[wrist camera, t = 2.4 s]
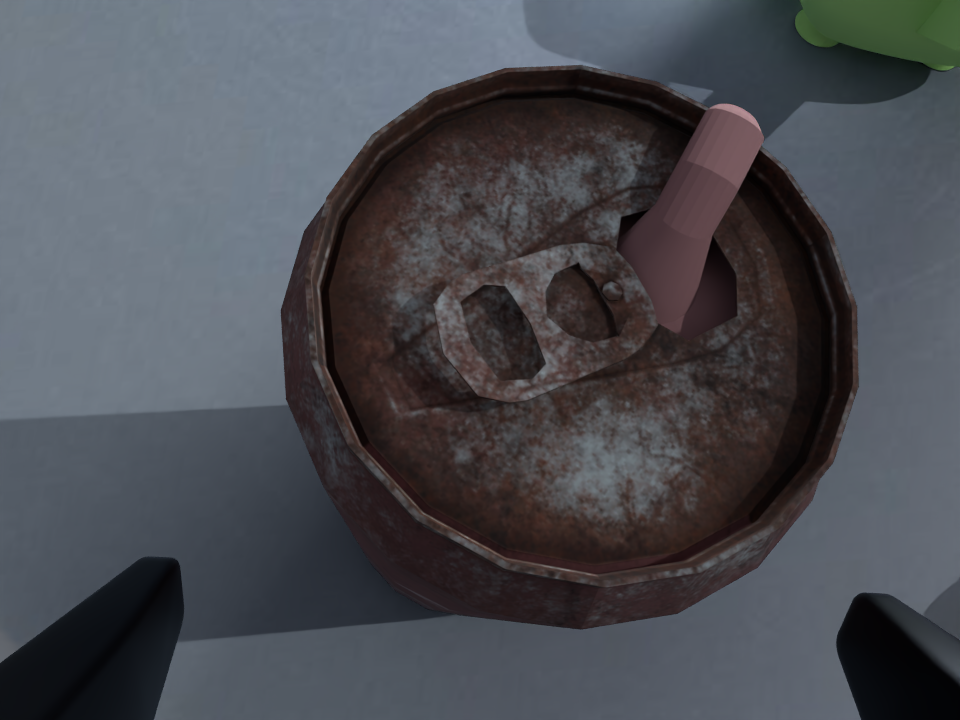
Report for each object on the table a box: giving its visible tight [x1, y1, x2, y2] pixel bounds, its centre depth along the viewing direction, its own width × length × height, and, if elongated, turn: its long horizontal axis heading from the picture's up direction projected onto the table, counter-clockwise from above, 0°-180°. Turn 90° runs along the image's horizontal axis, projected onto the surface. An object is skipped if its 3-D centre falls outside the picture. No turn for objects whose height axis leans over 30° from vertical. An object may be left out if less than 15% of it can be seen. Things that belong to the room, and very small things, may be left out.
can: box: [281, 65, 859, 629], centre depth 13 cm, size 6×6×14 cm
